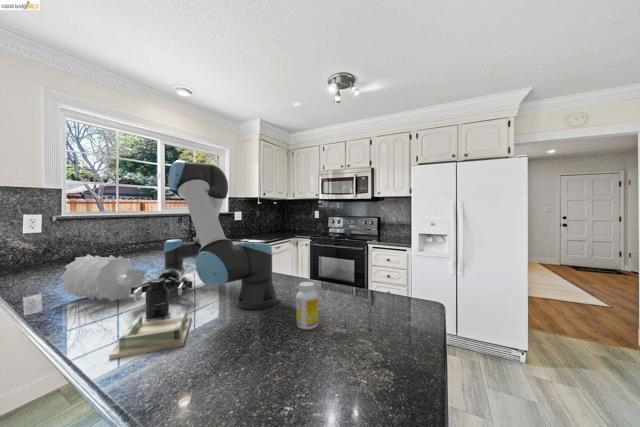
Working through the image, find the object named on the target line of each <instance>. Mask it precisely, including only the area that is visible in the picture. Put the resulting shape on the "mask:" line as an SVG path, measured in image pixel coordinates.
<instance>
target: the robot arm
mask: <svg viewBox="0 0 640 427" xmlns="http://www.w3.org/2000/svg"><path fill="white" fill-rule="evenodd" d="M168 173H169V174H168V187H169V189H170V190H172V191H177V193H178V196H179V197H180V198H181V199H184V201H185V204H186V206H187V209H188V212H189V215H190V217H191V221H192V223H193V226H194V230H195V233H196V234H195V235H196V236H195V238H194V241H190V242H183V241H184V240H182V239H179V238H177V239H175V238H174V239H167V240H166V241H164V244H163V246H164V247H163V253H164V255H163V256H164V258H163V259H164V271H163V272H162V273H161V274H160V275H159V276H158V278H157V279H161V278H163V279H165V283H166V285H165V286H166V287H168V289H169V290H172V289H175V288H177V289H178V290H177V293H178V294H177V295H178V296H181V295H182V293H183V291H186V290H187V289H192V288H193V280H190V279H188V278H186V276H184V274H185V267H184V259H190V258H195V263H194V264H195V266H196V267H195V270H196V273H197V276H198V278H199V280H200V281H201V282H202V283H203V284H204V285H206V286H208V287H215V286H223V285H225V284H228V283H229V284H230V283H233V282H237V281H241V282H240V287H239V290H238V294H237V296H236V306H237V308H240V309H242V310H251V311H254V310H256V311H257V310H262V309H267V308H270V307H273V306H274V305H275V304H277V303H278V293H277V290H276V288H275V285H274V282H273V281H274V280H273V249H272V246H271V244H269V243H265V242H254V241H253V242H252V241H243V242H240V245H239V247H237V246H236V247H235V245H234V243H233V241H232V240H231V239H230V238H227V237H226V235H225V233H224V229H223V228H222V225H221V223H220V220H219V216H220V212H221V208H222V205H223V201H224V200H225V199H226V198H227V195H228V193H229V182H228V179H227V176H226V174H225V172H224V171H223V170H222V169H221V168H220V167H219V166H217V165H214V164H211V163H201V162H194V161H186V160H176V161H175V160H174V161H173V162H172V163H171V166H170V169H169V171H168ZM150 280H151V279H149V280H146V281H145V282H142V284H139V285H136V286H134V287H131V295H132V296H133V301H137V300H139V298H140V297H141V296H142V295H143V293H146V291H147V289H149V288H150V287H149V281H150Z"/></svg>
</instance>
